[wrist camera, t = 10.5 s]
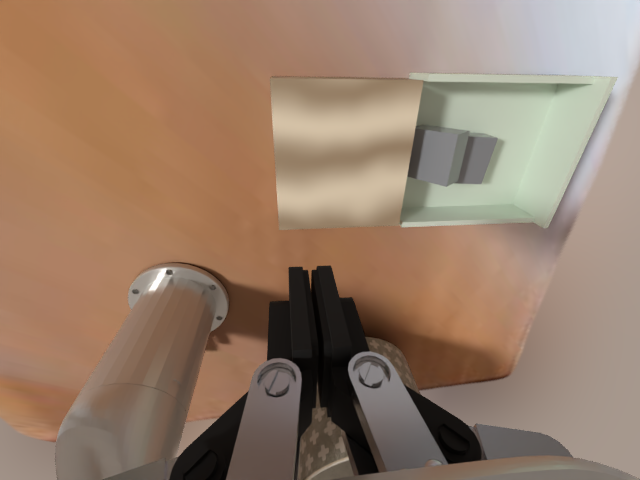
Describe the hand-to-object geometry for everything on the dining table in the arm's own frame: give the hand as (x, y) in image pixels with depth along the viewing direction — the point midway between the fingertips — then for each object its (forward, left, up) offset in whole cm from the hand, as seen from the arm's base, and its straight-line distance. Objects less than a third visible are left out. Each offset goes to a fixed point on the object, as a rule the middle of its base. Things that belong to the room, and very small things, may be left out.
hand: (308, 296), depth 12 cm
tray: (0, -20, -23) cm, 31 cm away
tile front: (0, -13, -19) cm, 24 cm away
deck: (0, -5, -23) cm, 24 cm away
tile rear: (0, -19, -20) cm, 27 cm away
